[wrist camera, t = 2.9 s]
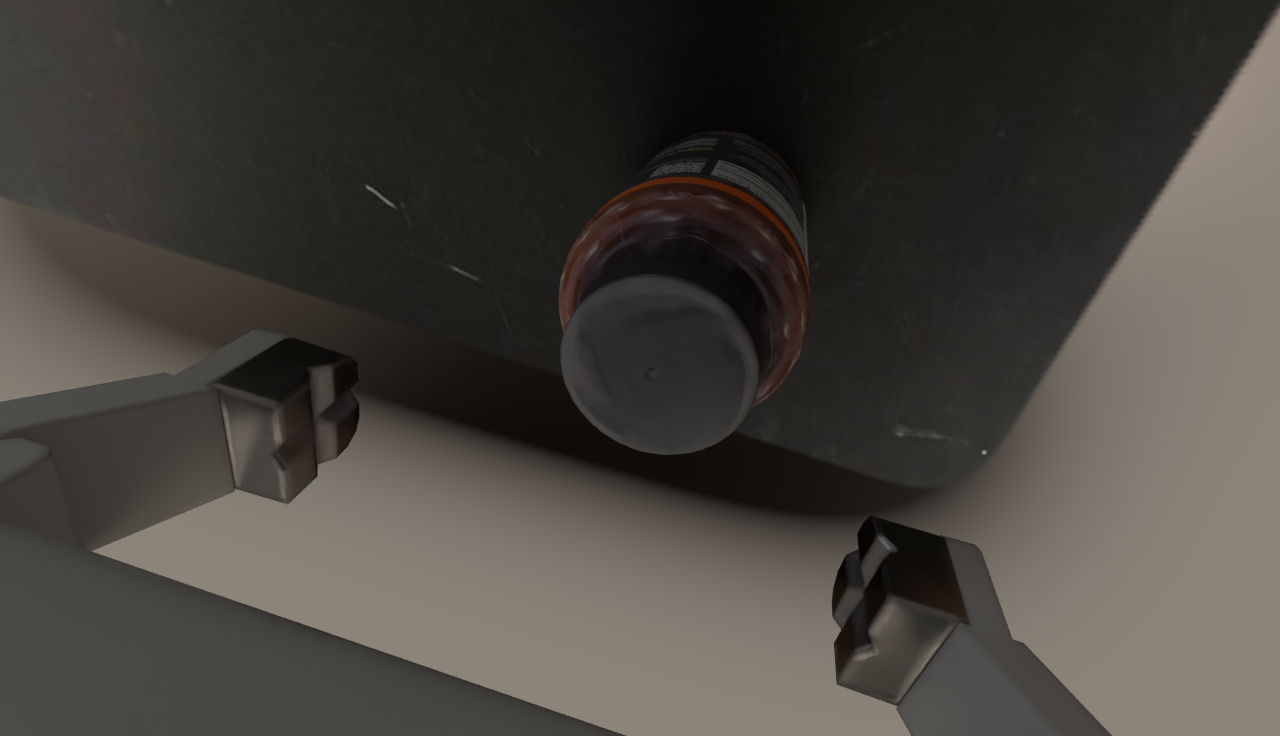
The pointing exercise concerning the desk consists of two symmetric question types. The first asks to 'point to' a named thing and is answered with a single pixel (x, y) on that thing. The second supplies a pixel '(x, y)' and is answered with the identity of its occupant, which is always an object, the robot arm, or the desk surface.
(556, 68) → the desk surface
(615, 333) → the supplement bottle
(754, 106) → the desk surface
